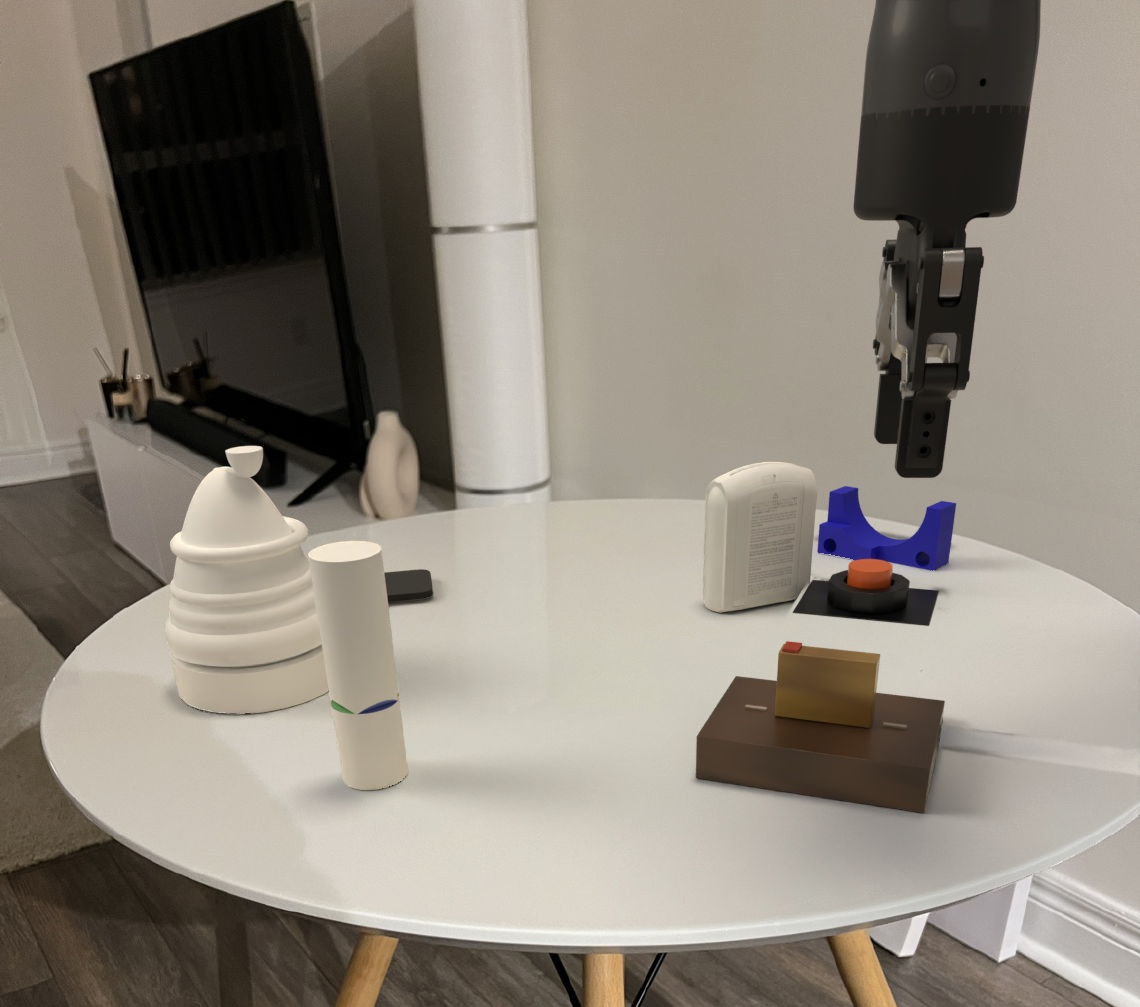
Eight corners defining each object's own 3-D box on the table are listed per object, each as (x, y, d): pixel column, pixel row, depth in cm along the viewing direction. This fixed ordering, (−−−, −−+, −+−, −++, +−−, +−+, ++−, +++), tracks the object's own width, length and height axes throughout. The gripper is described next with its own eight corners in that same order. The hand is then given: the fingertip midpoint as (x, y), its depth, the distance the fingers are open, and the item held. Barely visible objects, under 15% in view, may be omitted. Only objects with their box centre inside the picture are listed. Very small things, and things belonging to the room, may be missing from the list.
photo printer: (789, 585, 101) (797, 452, 95) (816, 598, 97) (827, 460, 92) (694, 604, 97) (697, 466, 92) (720, 618, 94) (724, 476, 88)
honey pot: (370, 655, 89) (341, 432, 81) (295, 721, 78) (252, 471, 70) (234, 645, 92) (192, 430, 84) (143, 706, 81) (85, 466, 73)
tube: (352, 758, 72) (321, 541, 65) (414, 759, 72) (389, 540, 65) (333, 789, 69) (298, 562, 62) (399, 790, 68) (370, 562, 61)
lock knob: (873, 718, 68) (880, 650, 66) (869, 728, 67) (877, 659, 65) (779, 706, 70) (783, 639, 68) (774, 716, 69) (778, 648, 67)
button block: (936, 608, 94) (941, 570, 92) (926, 644, 87) (931, 603, 85) (810, 597, 98) (813, 560, 96) (791, 631, 91) (793, 591, 89)
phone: (276, 582, 105) (429, 567, 107) (277, 590, 105) (430, 576, 107) (269, 606, 98) (433, 591, 100) (271, 615, 99) (434, 599, 100)
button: (893, 580, 92) (895, 560, 91) (887, 593, 89) (889, 573, 88) (850, 576, 93) (852, 557, 92) (843, 589, 90) (845, 569, 89)
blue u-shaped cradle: (817, 553, 110) (821, 494, 107) (840, 543, 112) (845, 485, 110) (926, 575, 102) (934, 513, 99) (948, 564, 105) (956, 503, 102)
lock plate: (939, 741, 72) (945, 698, 70) (924, 813, 63) (930, 766, 62) (734, 714, 76) (735, 673, 75) (695, 778, 68) (696, 733, 67)
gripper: (1072, 87, 43) (1008, 490, 51) (994, 112, 56) (952, 432, 63) (881, 95, 44) (845, 490, 52) (846, 118, 57) (822, 433, 64)
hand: (904, 458), depth 57 cm, fingers open, 8 cm apart
